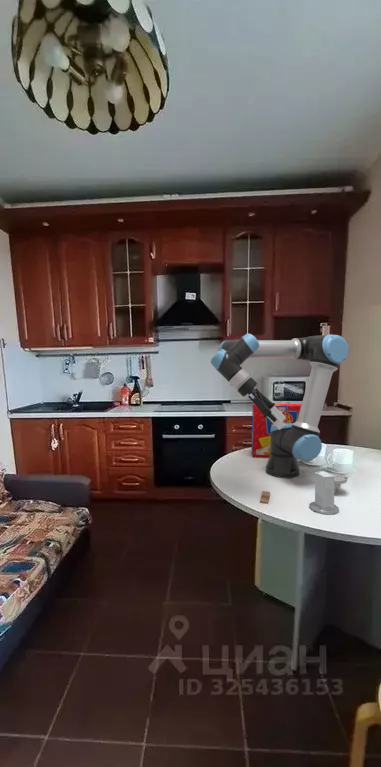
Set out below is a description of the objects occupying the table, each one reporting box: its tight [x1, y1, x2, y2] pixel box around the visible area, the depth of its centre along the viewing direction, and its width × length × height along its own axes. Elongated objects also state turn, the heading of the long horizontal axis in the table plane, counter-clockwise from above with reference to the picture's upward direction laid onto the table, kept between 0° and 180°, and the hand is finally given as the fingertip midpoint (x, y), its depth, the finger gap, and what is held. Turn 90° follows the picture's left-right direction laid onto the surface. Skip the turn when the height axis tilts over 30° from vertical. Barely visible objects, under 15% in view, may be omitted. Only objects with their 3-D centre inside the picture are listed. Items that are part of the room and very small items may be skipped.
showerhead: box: [327, 472, 349, 494], centre depth 147 cm, size 9×7×10 cm
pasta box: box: [251, 402, 302, 459], centre depth 196 cm, size 28×8×28 cm, turn 85°
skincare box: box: [314, 470, 335, 510], centre depth 131 cm, size 6×4×12 cm
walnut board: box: [259, 490, 271, 505], centre depth 140 cm, size 10×3×1 cm, turn 164°
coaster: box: [308, 501, 340, 516], centre depth 132 cm, size 10×10×1 cm
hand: (283, 423), depth 139 cm, fingers open, 13 cm apart
